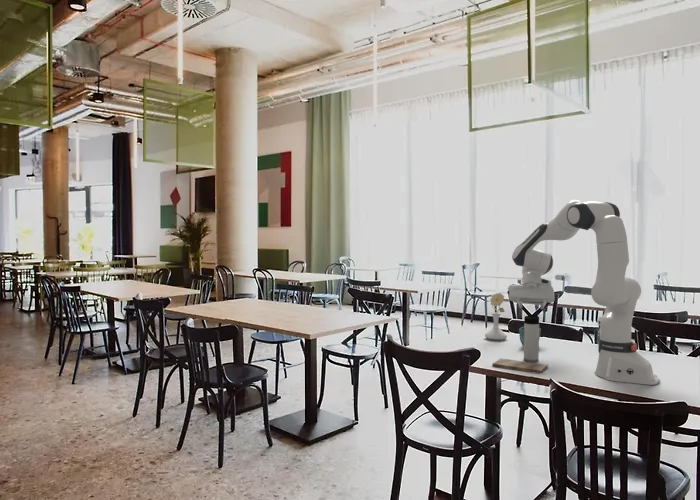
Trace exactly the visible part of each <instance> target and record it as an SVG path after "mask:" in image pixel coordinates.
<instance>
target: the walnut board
mask: <svg viewBox="0 0 700 500" xmlns="http://www.w3.org/2000/svg"><path fill="white" fill-rule="evenodd" d="M491 365H492V367H494V368H501V369H508V370H514V371H521V372H528V373H533V372H535V373H534V374H540V373H541V374H543V373H544V372H545V371H546V370H547V369H548V367H549V364H546V363H545V364H544V363H538V362H527V361H524V360H523V361H521V360H515V359H507V358H502V357H501V358H499V359H497V360H496V361H495V362H493V363H492V364H491Z"/></svg>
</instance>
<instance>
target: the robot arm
mask: <svg viewBox="0 0 700 500" xmlns="http://www.w3.org/2000/svg"><path fill="white" fill-rule="evenodd" d="M620 212H621V211H620V209H619V207H618V206H617V204H615V203H612V202H608V201H607V202H606V201H604V202H603V201H602V202H601V201H586V202H585V201H584V202H583V201H580V200H577V199H572V200H571V201H569V202H567V203H566V204H565V205H564V206H563V207H562V208H561V209H560V211H559V212H558V213H557V214H556V216H555V217H554V218H553V219H551V220H550V221H548V222H545V223H542V224H540V225H539V226H538V227H536V229H534V231H533V232H532V233H531V234H529V236H528V237H526V239H525V240H523V242H521V244H519V245H517V246H516V247H515V248H514V250H513V252H512V255H511V258H512V260H513V263H514V264H515V266H518V267H521V268H522V269H521V273H522V274H521V275H522V278H521V283H511V284H509V286H508V292H509V293H508V298H509V301H511V302H516V304H517V305H518V308H519V309H523V303H522V302H525V303H526V302H528V303H530V302H531V303H540V310H545V306H546V305H547V303H550V304H551V303H554V302H555V298H556V297H555V296H556V295H555V291H554V288H553V286H552V281H551V280H549V279H545V278H542V276H544V275H546V274H548V273H550V272H551V269H552V268H553V266H554V259H553V256H552V254H551V253H550V252H546V251H543V250H539V249H537V248H535V247H536V246H537V245H538V244H539V243H541V242H545V241H560V242H561V241H568V240H570V239H572V238H573V237H574V236H575V235H576V234H577V233H578V231H579V230H580V229H581V230H585V231H588V230H590V229H591V230H592V231H593V232H594V233H595V241H596V243H595V244H596V251H597V252H596V253H597V270H596V271H597V272H596V278H595V281H594V285H592V288H591V291H590V295H591V299H592V300H593V302H594V303H596V304H597V305H598V306H602V307H605V310H604V313H603V316H602V315H601V316H602V318H601V321H600V339H599V338H598V342H597V343H598V346H597V350H598V358H597V359H598V360H597V364H596V368H595V370H594V374H595V375H596V376H598V377H601V378H604V379H606V380H608V381H611V382H619V383H628V384H641V385H650V386H655V385H658V384H659V383H660V377H659V376H658V375H656V374H654V371H653V370H654V369H653V367H652V364H651V362H650V361H649V360H647V358H645V357H644V356H643V355H641V354H640V353H639V352H637V351H638V345H637V343H636V342H633V341H632V324H633V318H634V313H635V310H636V305H637V302H638V299H640V297H641V294H642V287H641V284H639V282H638V281H636V280H635V279H633V278H630V277H627V276H626V272H627V267H628V265H629V262H630V256H629V255H630V254H629V244H628V238H627V232H626V228H625V225H624V224H625V223H624V220H623V219H622V218H621V213H620Z"/></svg>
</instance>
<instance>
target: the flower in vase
mask: <svg viewBox="0 0 700 500" xmlns="http://www.w3.org/2000/svg"><path fill="white" fill-rule="evenodd" d="M504 301H505V296H504V294H502V293H500V292H495V293H494V294H493V295H492V296H491V297H490V301H489V302H490V305H491V306H492V308H493V309H494V311H497V312H491V313H490V314H491V315H492V317H493V318H492V319H493V327H492V328H491V329H489V330H488V331H487V332H485V333H484V337H485V338H486V339H489V340H493V341H494V340H495V341H501V340H505V339H507V337H508V336H507V334H506V333H505V332H504V331H503V330H502V329H501V328H500V327H499V318H500V316H501V314H502V313H504V312H505V309H504V307H501V305H502V304H503V302H504ZM495 307H496V308H495ZM497 307H498V309H497Z"/></svg>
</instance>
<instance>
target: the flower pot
mask: <svg viewBox="0 0 700 500" xmlns="http://www.w3.org/2000/svg"><path fill="white" fill-rule="evenodd" d="M541 332H542V328H541V327H539V340H540V337H541ZM518 333H519V341H520V343H521V345H522V347H524V326H522V327H520V328H519V329H518Z"/></svg>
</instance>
